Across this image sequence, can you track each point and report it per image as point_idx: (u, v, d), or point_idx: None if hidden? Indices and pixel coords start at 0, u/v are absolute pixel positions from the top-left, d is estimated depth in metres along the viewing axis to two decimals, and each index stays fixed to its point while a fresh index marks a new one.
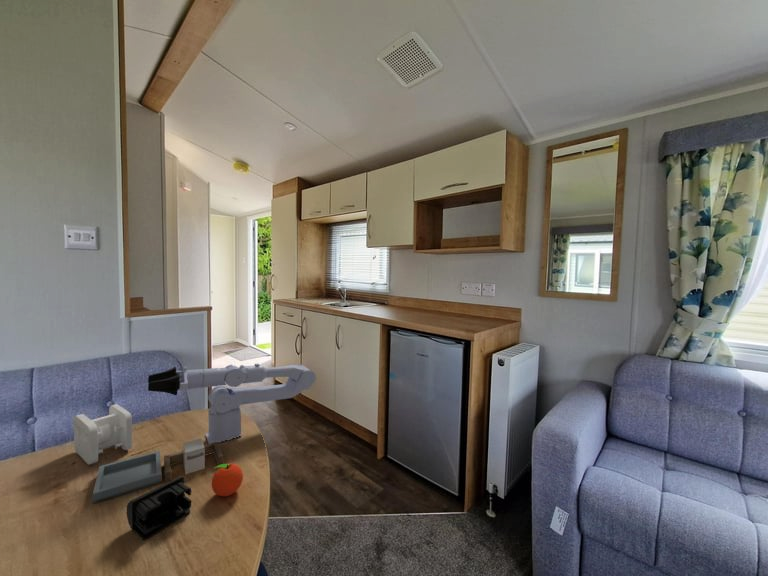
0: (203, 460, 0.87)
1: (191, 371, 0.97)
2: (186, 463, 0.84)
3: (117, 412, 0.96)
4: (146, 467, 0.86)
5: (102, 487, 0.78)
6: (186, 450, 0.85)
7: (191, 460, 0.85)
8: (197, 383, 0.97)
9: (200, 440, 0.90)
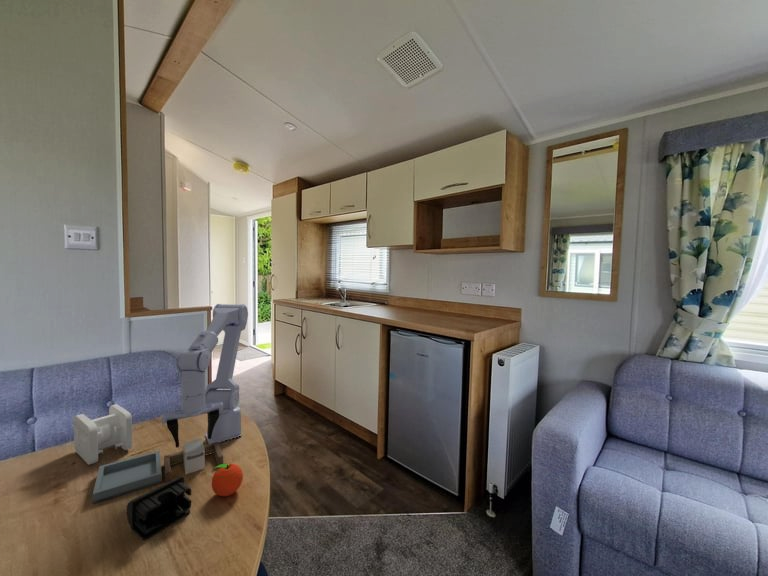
0: (203, 460, 0.87)
1: (198, 406, 0.86)
2: (186, 463, 0.84)
3: (117, 412, 0.96)
4: (146, 467, 0.86)
5: (102, 487, 0.78)
6: (186, 450, 0.85)
7: (191, 460, 0.85)
8: None
9: (200, 440, 0.90)
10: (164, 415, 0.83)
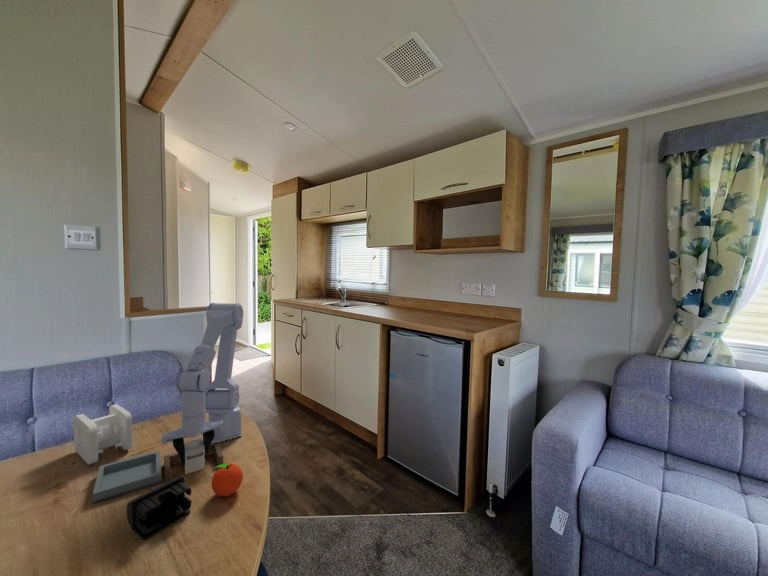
0: (203, 460, 0.87)
1: (198, 426, 0.86)
2: (186, 463, 0.84)
3: (117, 412, 0.96)
4: (146, 467, 0.86)
5: (102, 487, 0.78)
6: (186, 450, 0.85)
7: (191, 460, 0.85)
8: None
9: (200, 440, 0.90)
10: (164, 435, 0.83)
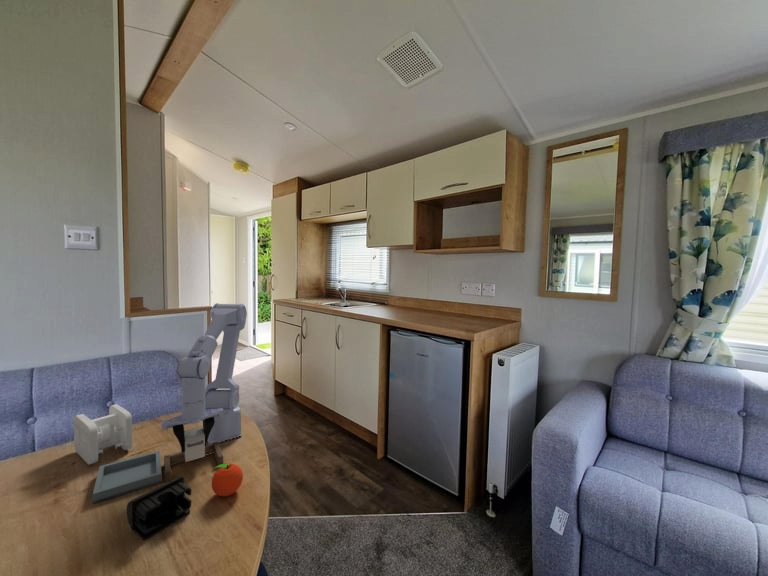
0: (203, 448, 0.86)
1: (198, 413, 0.86)
2: (186, 451, 0.84)
3: (117, 412, 0.96)
4: (146, 467, 0.86)
5: (102, 487, 0.78)
6: (186, 438, 0.85)
7: (191, 448, 0.85)
8: None
9: (200, 428, 0.90)
10: (164, 422, 0.83)
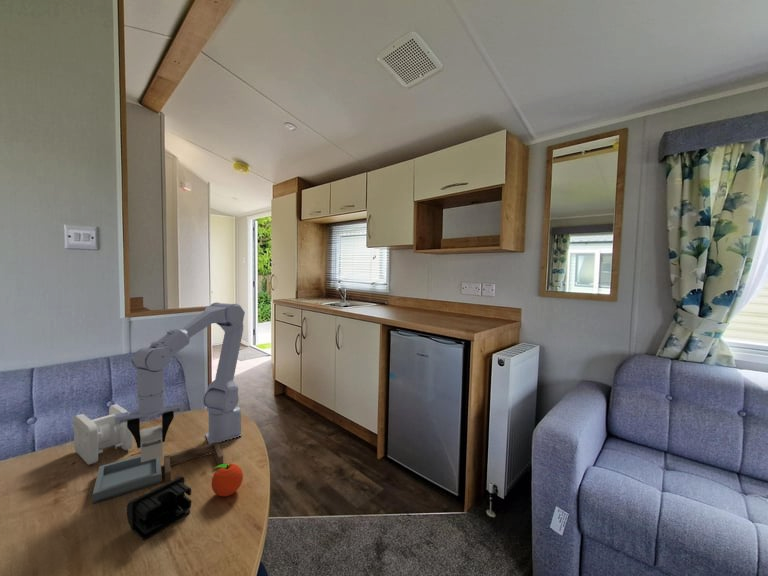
0: (161, 448, 0.82)
1: (155, 406, 0.81)
2: (141, 451, 0.80)
3: (117, 412, 0.96)
4: (146, 467, 0.86)
5: (102, 487, 0.78)
6: (142, 437, 0.80)
7: (147, 448, 0.80)
8: None
9: (159, 427, 0.85)
10: (118, 416, 0.79)
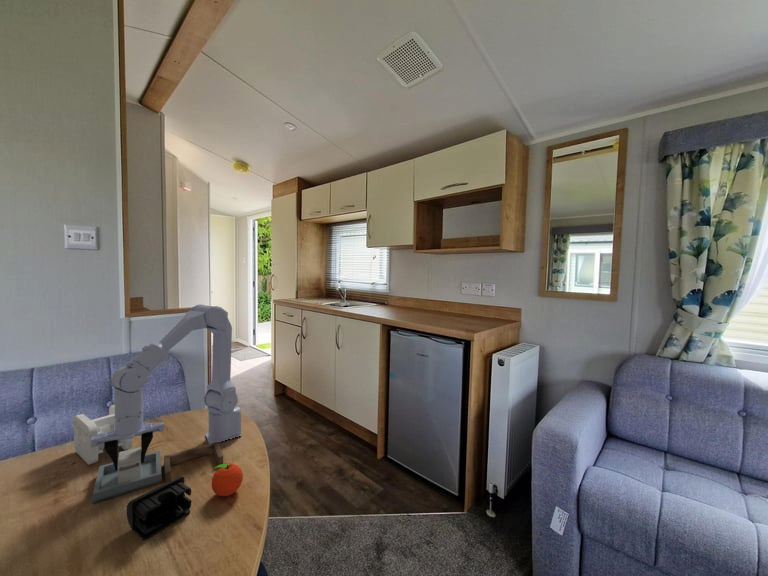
0: (139, 471, 0.80)
1: (133, 428, 0.80)
2: (118, 474, 0.78)
3: None
4: (146, 467, 0.86)
5: (102, 487, 0.78)
6: (119, 460, 0.79)
7: (124, 471, 0.79)
8: None
9: (138, 449, 0.84)
10: (94, 438, 0.77)
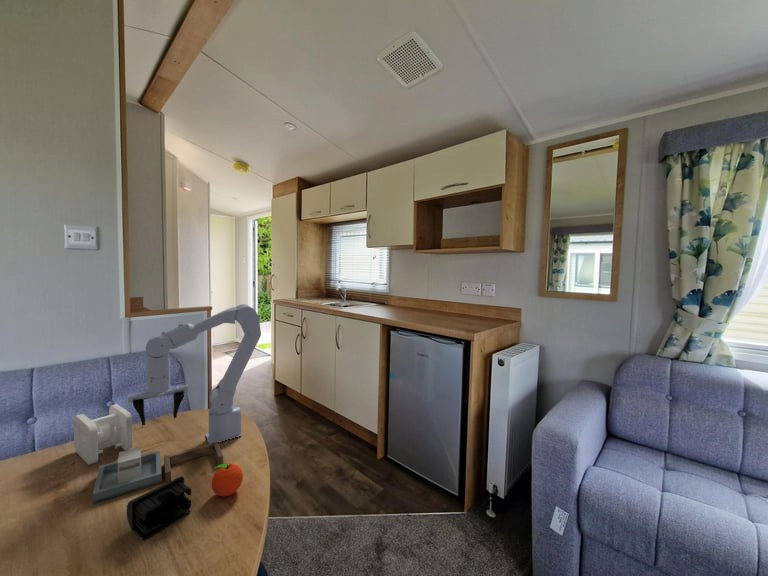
0: (139, 471, 0.80)
1: (163, 387, 0.93)
2: (118, 474, 0.78)
3: (117, 412, 0.96)
4: (146, 467, 0.86)
5: (102, 487, 0.78)
6: (119, 460, 0.79)
7: (124, 471, 0.79)
8: None
9: (138, 449, 0.84)
10: (130, 395, 0.90)
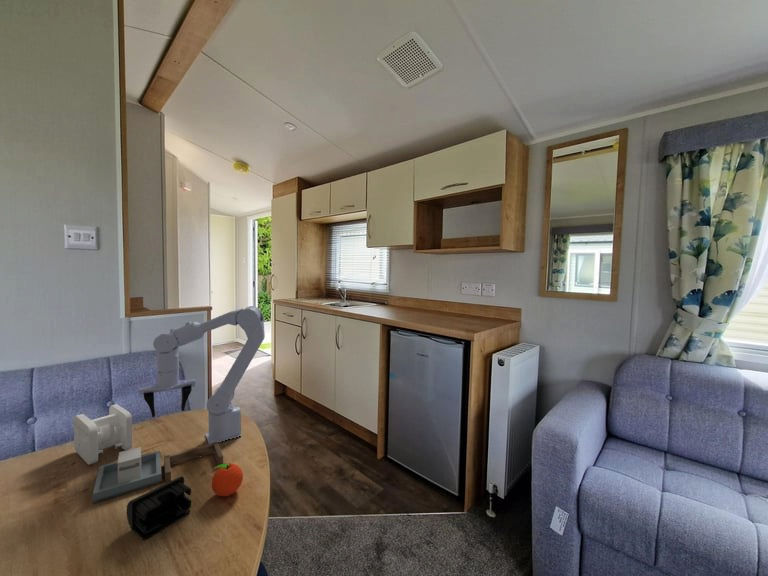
0: (139, 471, 0.80)
1: (172, 381, 0.98)
2: (118, 474, 0.78)
3: (117, 412, 0.96)
4: (146, 467, 0.86)
5: (102, 487, 0.78)
6: (119, 460, 0.79)
7: (124, 471, 0.79)
8: None
9: (138, 449, 0.84)
10: (141, 388, 0.95)
